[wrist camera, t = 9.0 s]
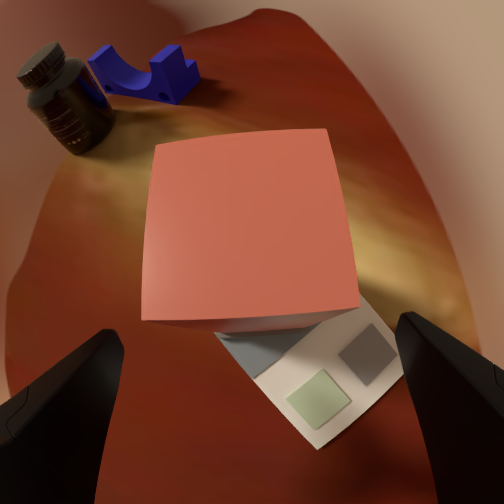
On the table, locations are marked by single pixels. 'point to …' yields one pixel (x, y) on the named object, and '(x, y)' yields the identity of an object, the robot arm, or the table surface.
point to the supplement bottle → (66, 99)
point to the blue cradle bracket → (146, 75)
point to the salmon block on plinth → (247, 235)
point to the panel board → (323, 370)
